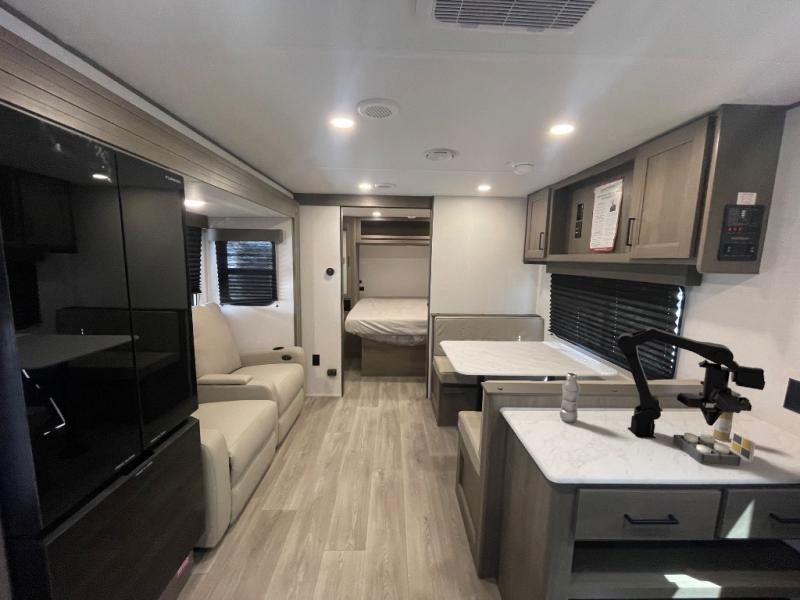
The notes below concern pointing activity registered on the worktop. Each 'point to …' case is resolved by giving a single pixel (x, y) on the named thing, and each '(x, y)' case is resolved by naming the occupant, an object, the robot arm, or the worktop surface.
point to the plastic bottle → (570, 398)
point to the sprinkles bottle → (723, 426)
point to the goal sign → (742, 446)
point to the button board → (706, 457)
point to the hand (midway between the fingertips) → (709, 425)
